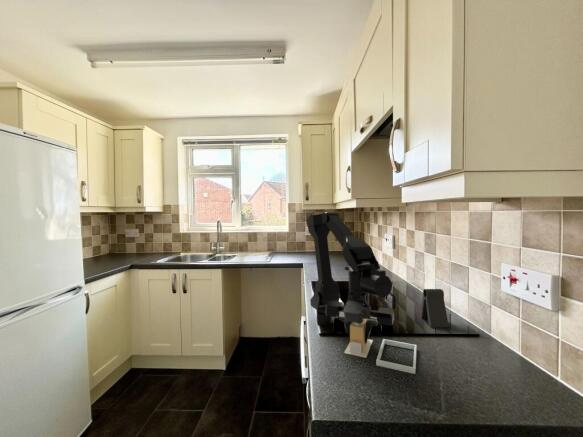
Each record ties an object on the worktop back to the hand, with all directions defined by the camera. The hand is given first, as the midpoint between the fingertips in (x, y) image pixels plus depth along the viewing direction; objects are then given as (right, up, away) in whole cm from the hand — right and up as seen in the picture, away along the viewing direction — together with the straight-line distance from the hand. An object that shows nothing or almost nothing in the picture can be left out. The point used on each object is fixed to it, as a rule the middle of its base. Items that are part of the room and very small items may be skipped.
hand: (359, 341), depth 78 cm
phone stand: (+31, -2, +18) cm, 36 cm away
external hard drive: (-4, -2, +41) cm, 41 cm away
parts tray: (+9, -2, -6) cm, 11 cm away
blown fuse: (0, -1, 0) cm, 1 cm away
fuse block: (0, -2, 0) cm, 2 cm away
